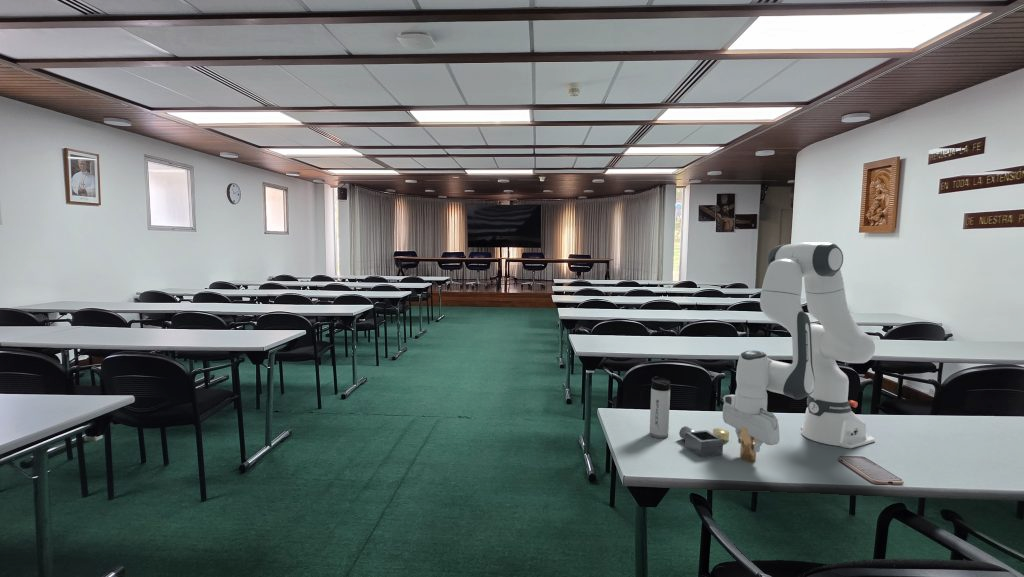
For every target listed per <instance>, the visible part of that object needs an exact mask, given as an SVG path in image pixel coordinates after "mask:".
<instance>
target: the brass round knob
mask: <svg viewBox="0 0 1024 577" xmlns="http://www.w3.org/2000/svg"><path fill="white" fill-rule="evenodd" d="M712 433H713V434H714V435H716V436H718V437H719V438H721V439H723V443H728V442H729V440H730V438H729V437H730V432H729V430H728V429H724V428H713V430H712Z"/></svg>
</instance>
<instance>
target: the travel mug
mask: <svg viewBox="0 0 1024 577" xmlns="http://www.w3.org/2000/svg"><path fill="white" fill-rule="evenodd" d="M650 388H651V389H650V411H649V414H650V415H649V435H650V436H651V437H652V438H656V439H667V438H668V437H669V430H670V429H669V428H670V426H669V424H670V405H671V404H670V402H671V401H670V400H671V381H670V380H669V379H666V378H663V377H659V376H653V377H652V378H651V386H650Z"/></svg>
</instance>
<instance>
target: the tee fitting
mask: <svg viewBox="0 0 1024 577" xmlns="http://www.w3.org/2000/svg"><path fill="white" fill-rule="evenodd" d="M678 434H679V437H680V438H681V439H682V440H684V441H685V443H684V447H685V449H687V450H689V451H690V452H692V453H693V454H695V455H696V456H698V457H699V458H706V457H707V458H708V457H716V456H723V452H724V450H723V448H724V442H723V439H721V438H719V437H718V436H716V435H714V434H713V432H711V431H709V430H707V429H705V430H694V429H692V428H690V427H689V426H686V425H685V426H683V427H681V428H680V429H679V433H678Z"/></svg>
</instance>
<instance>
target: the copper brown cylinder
mask: <svg viewBox="0 0 1024 577" xmlns="http://www.w3.org/2000/svg"><path fill="white" fill-rule="evenodd" d="M747 431H748V429H746V428H744V427H742V428H741V444H740V447H739V448H740V452H739V458H740V459H741V460H742V461H744V462H750V463H751V462H752V463H753V462H756V460H757V452H754V451H752V450H751V448H752V447H751V446H752V445H754V444H755V441H754V438H753V437H752V436H750V435H748V433H747Z"/></svg>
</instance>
